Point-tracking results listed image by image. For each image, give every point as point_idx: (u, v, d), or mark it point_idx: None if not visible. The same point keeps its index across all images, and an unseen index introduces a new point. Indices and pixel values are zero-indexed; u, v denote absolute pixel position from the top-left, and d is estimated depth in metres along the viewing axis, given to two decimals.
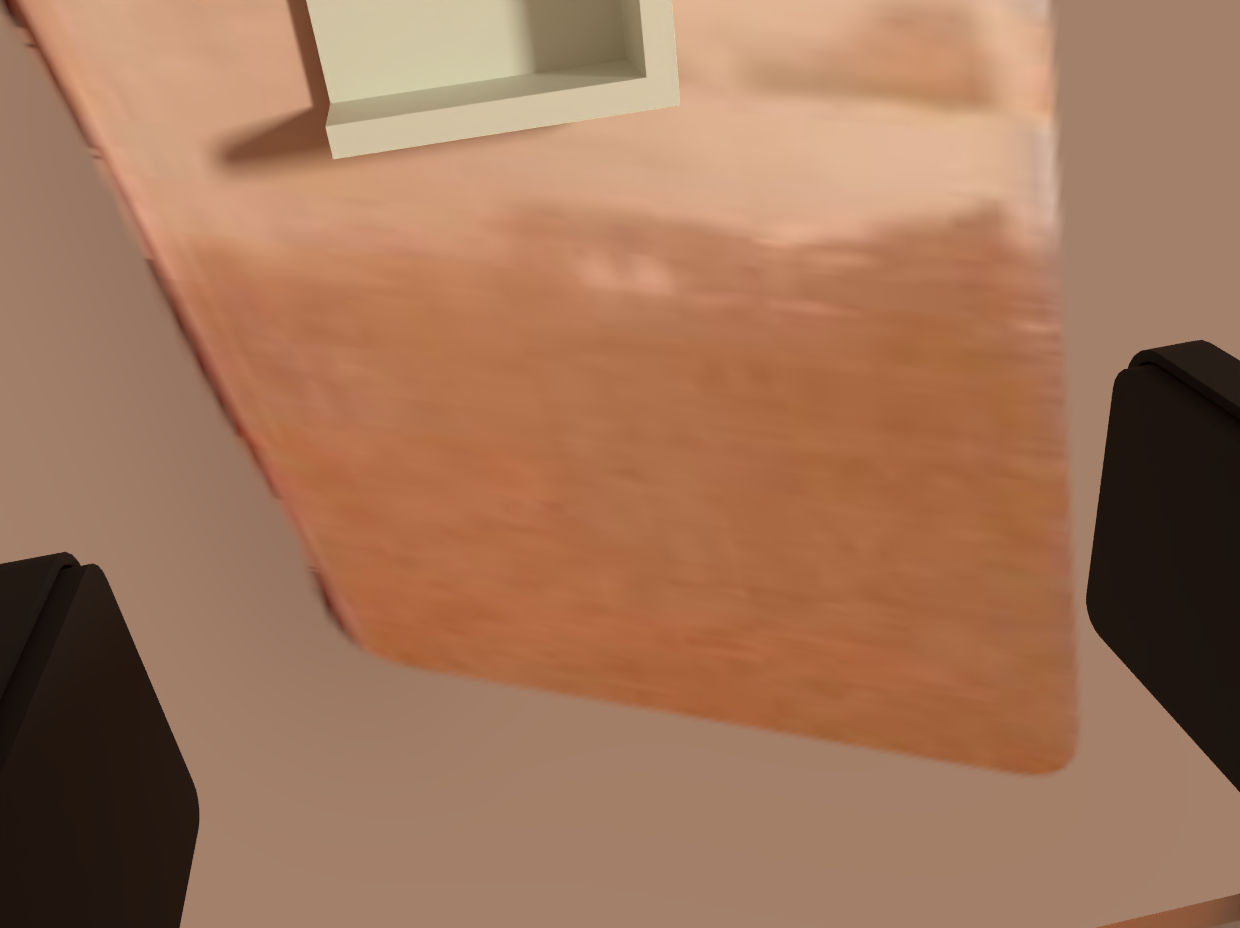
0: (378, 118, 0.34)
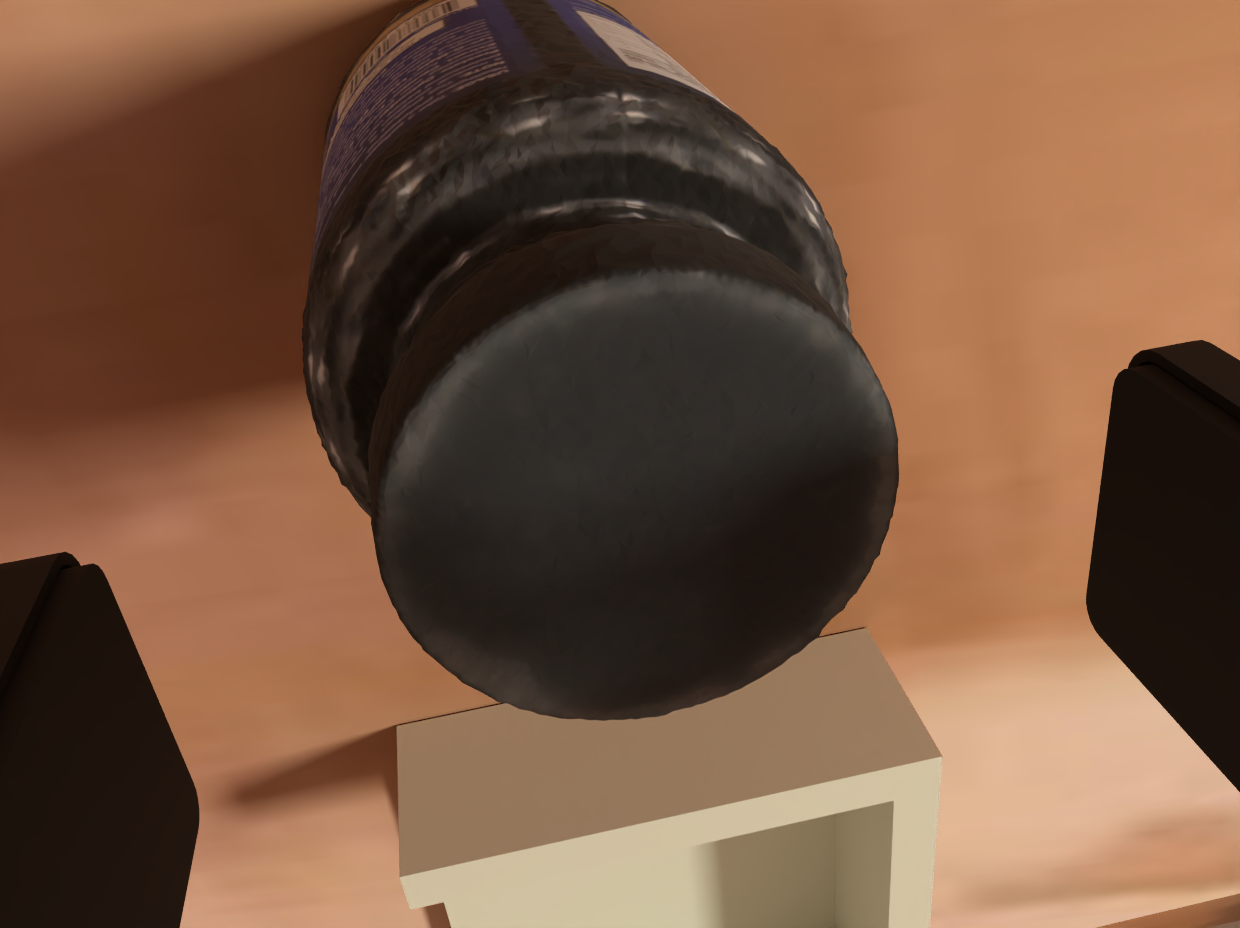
0: None
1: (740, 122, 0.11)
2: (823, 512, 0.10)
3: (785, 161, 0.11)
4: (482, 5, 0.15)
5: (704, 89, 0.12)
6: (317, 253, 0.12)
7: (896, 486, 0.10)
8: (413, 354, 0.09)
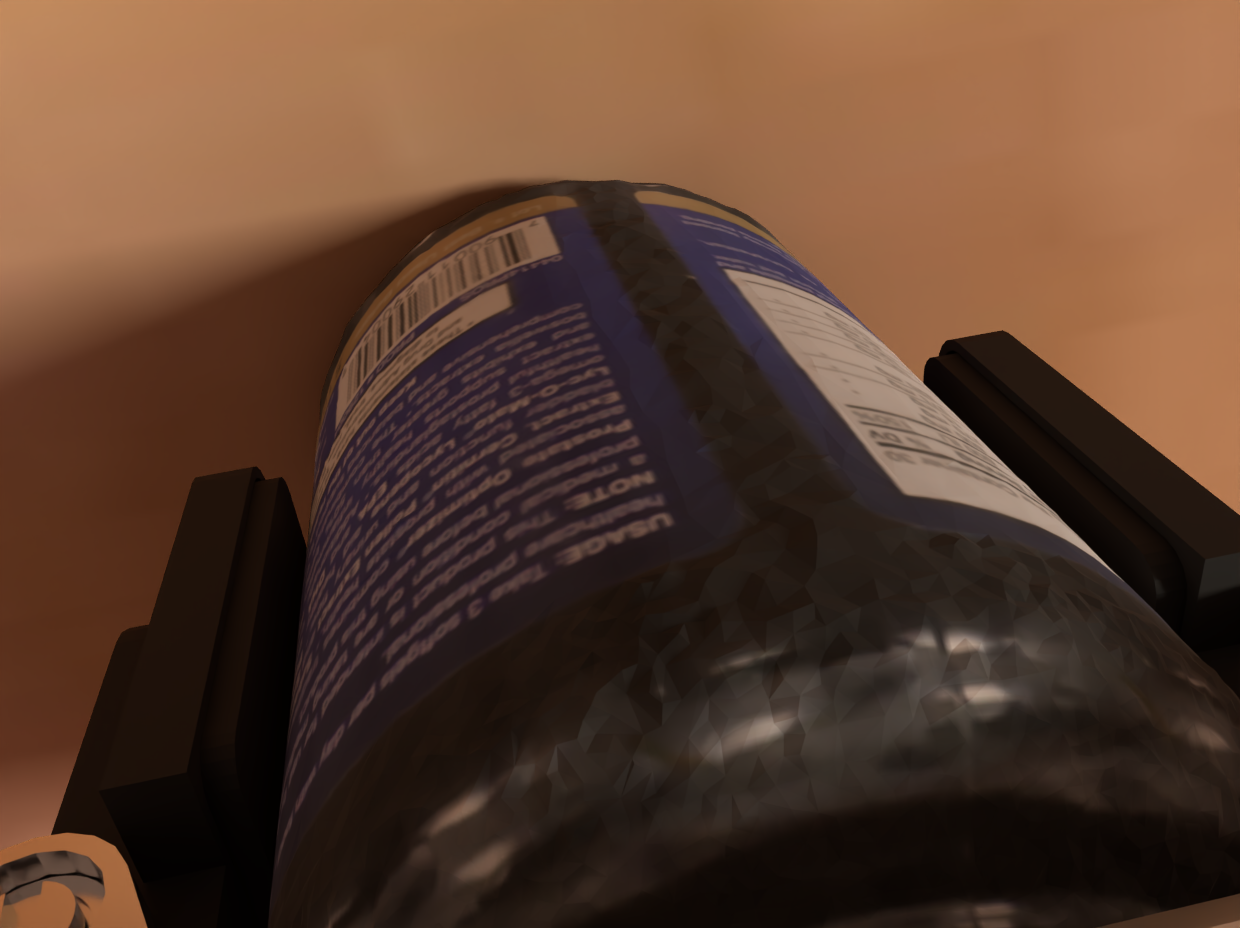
0: None
1: (1154, 635, 0.05)
2: None
3: (1233, 697, 0.06)
4: (570, 257, 0.09)
5: (1011, 487, 0.07)
6: (286, 876, 0.06)
7: None
8: None
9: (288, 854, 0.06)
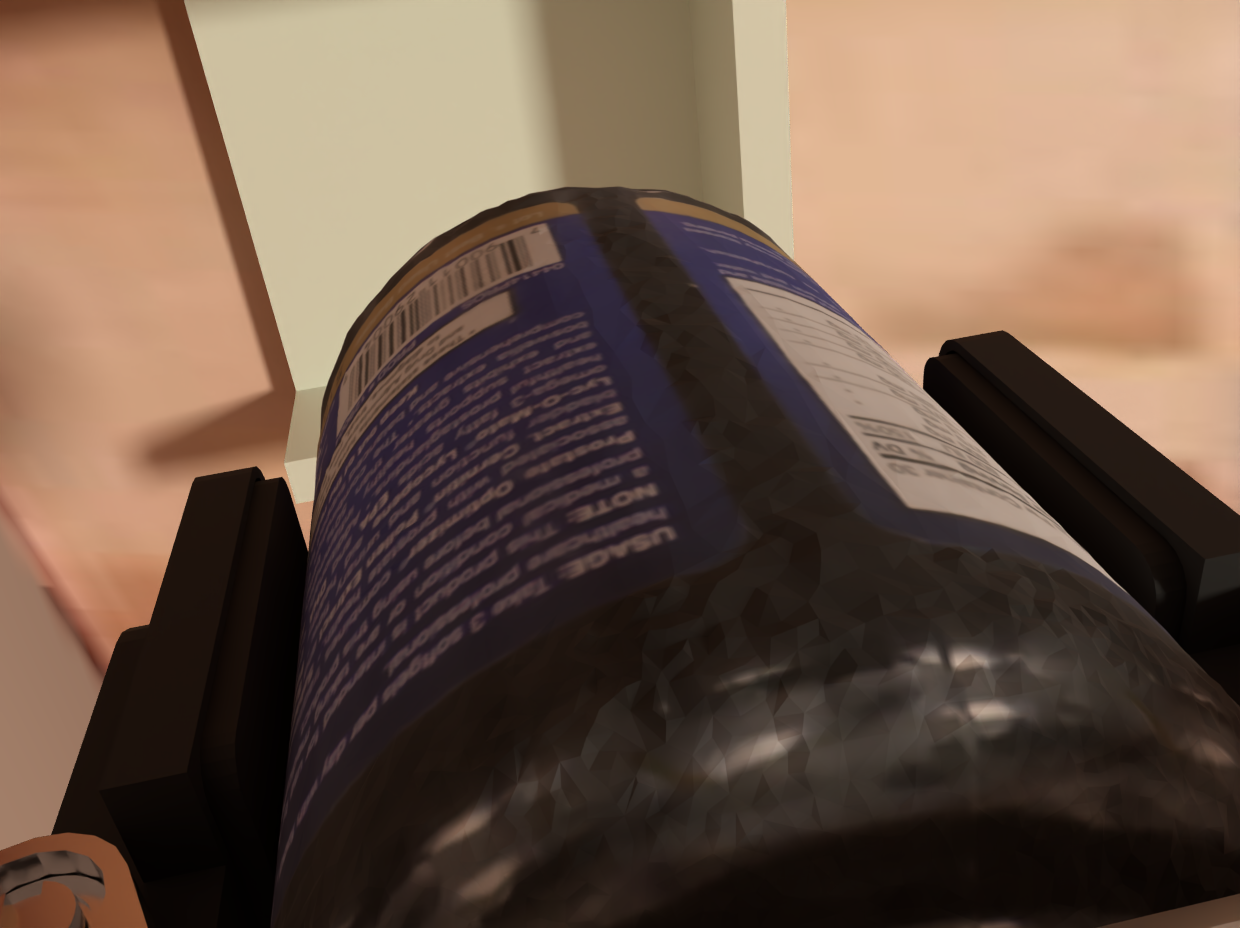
0: None
1: (1159, 650, 0.05)
2: None
3: (1238, 711, 0.06)
4: (571, 265, 0.09)
5: (1015, 498, 0.07)
6: (287, 890, 0.06)
7: None
8: None
9: (290, 868, 0.06)
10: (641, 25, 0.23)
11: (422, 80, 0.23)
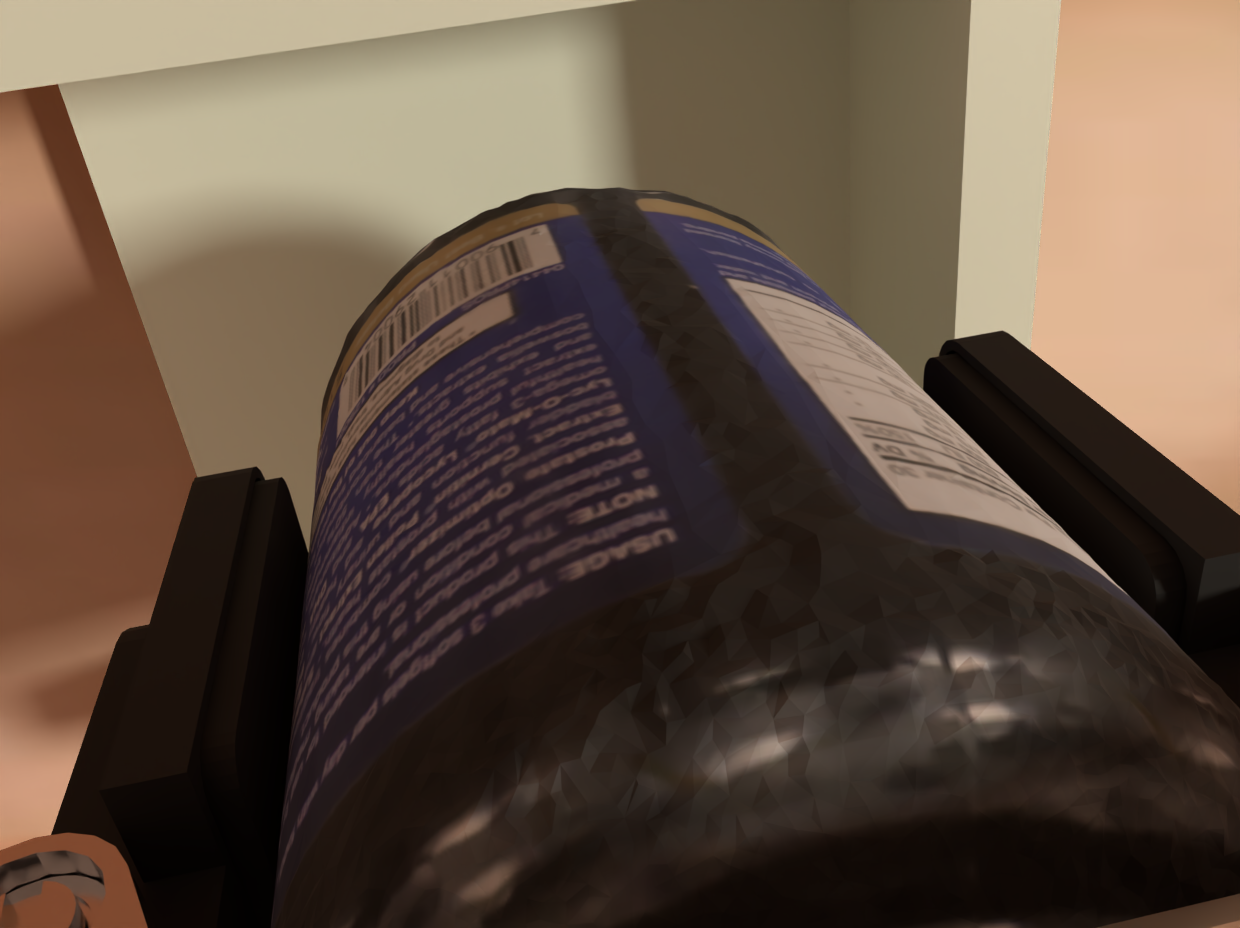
0: None
1: (1159, 652, 0.05)
2: None
3: (1238, 713, 0.06)
4: (571, 266, 0.09)
5: (1015, 500, 0.07)
6: (288, 892, 0.06)
7: None
8: None
9: (290, 870, 0.06)
10: (775, 111, 0.15)
11: (439, 197, 0.15)
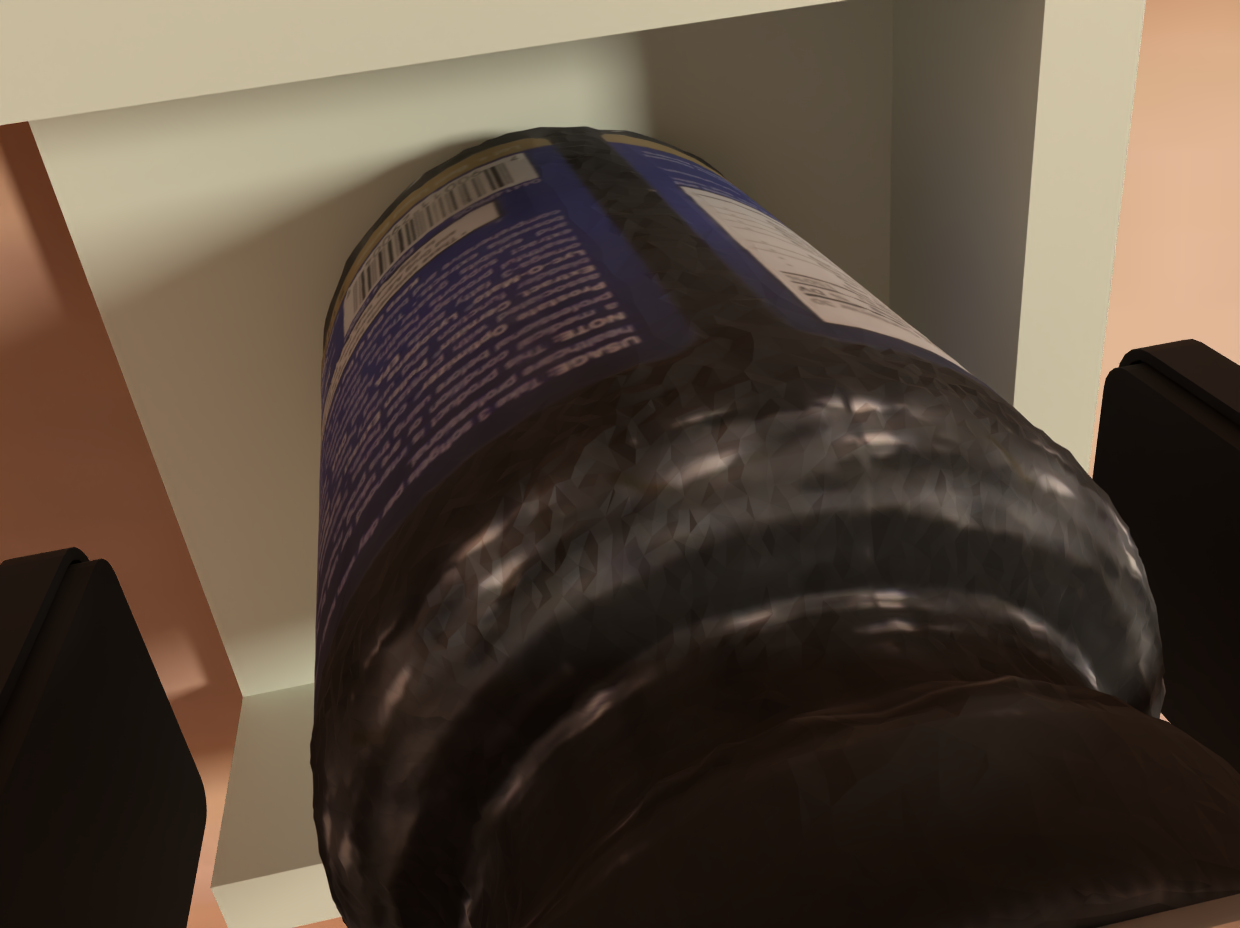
0: None
1: (1018, 418, 0.07)
2: None
3: (1084, 471, 0.07)
4: (547, 180, 0.11)
5: (916, 333, 0.08)
6: (334, 635, 0.07)
7: None
8: None
9: (334, 623, 0.07)
10: (811, 140, 0.14)
11: None
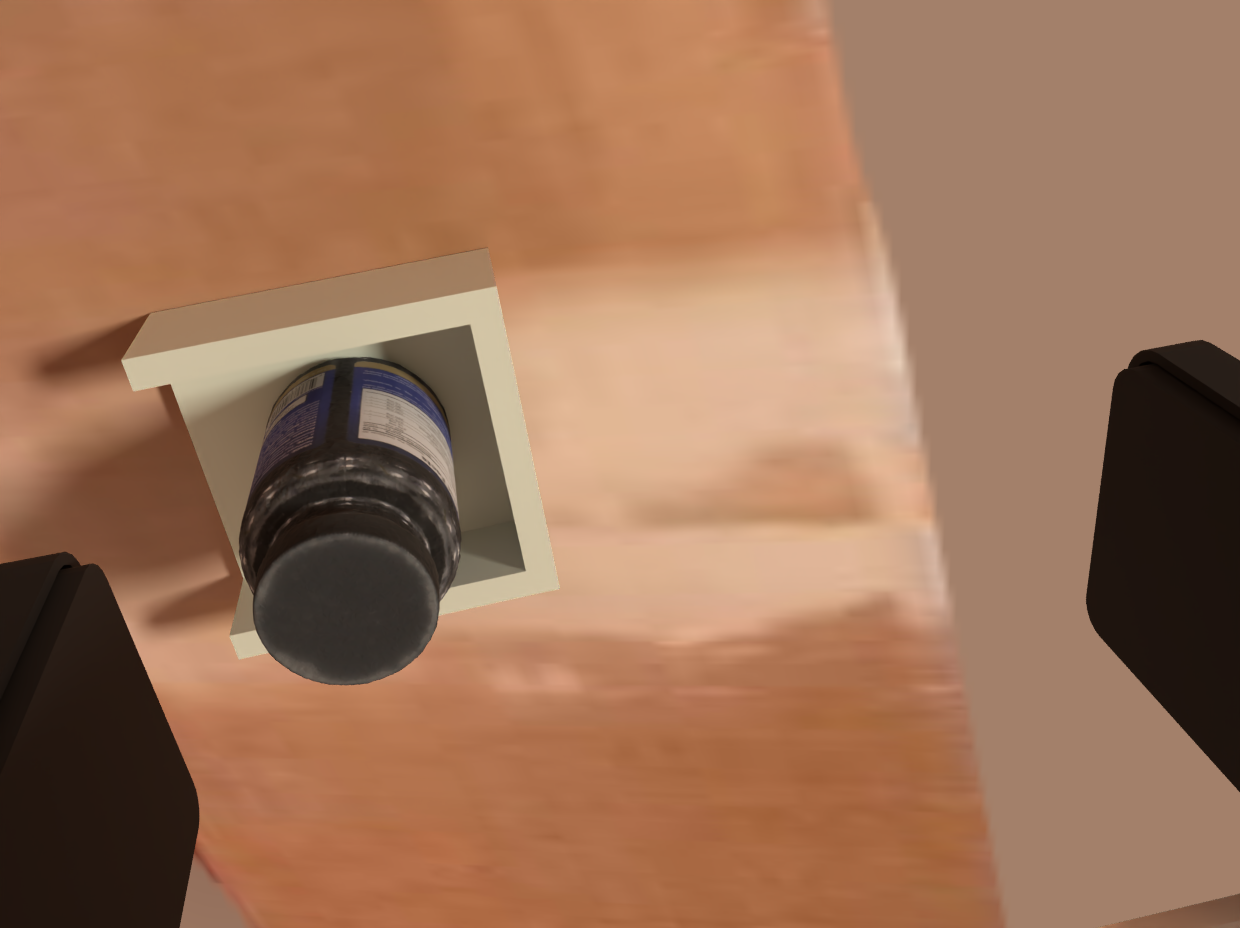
0: None
1: (396, 460, 0.30)
2: (411, 605, 0.28)
3: (415, 472, 0.30)
4: (324, 386, 0.34)
5: (396, 437, 0.31)
6: (243, 514, 0.30)
7: (436, 595, 0.28)
8: (264, 560, 0.28)
9: (244, 512, 0.31)
10: (447, 354, 0.37)
11: None
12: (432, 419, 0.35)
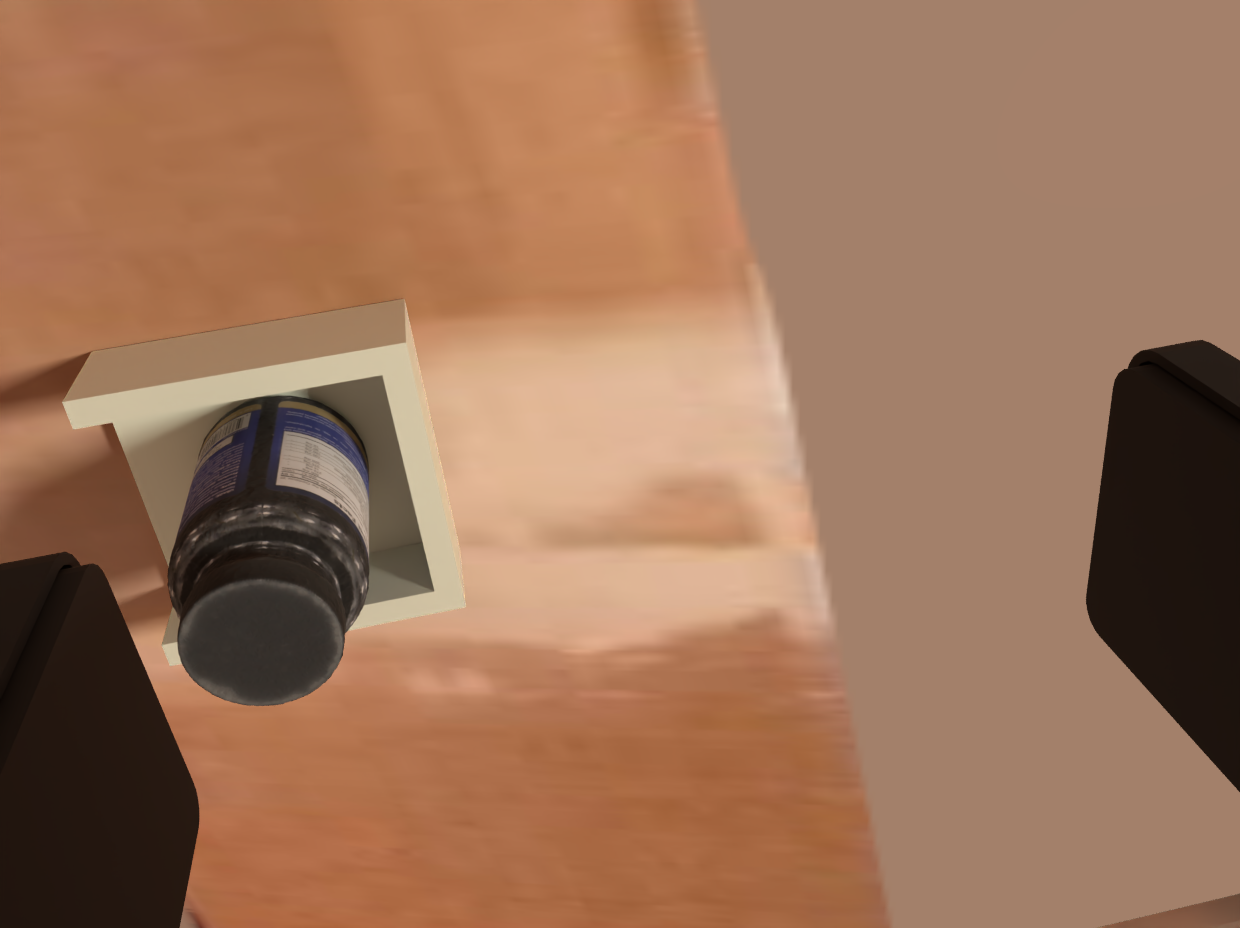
0: None
1: (309, 506, 0.34)
2: (318, 639, 0.32)
3: (326, 517, 0.34)
4: (249, 428, 0.38)
5: (311, 482, 0.35)
6: (172, 551, 0.34)
7: (341, 631, 0.32)
8: (188, 599, 0.32)
9: (173, 549, 0.34)
10: (366, 393, 0.41)
11: None
12: (348, 457, 0.38)
